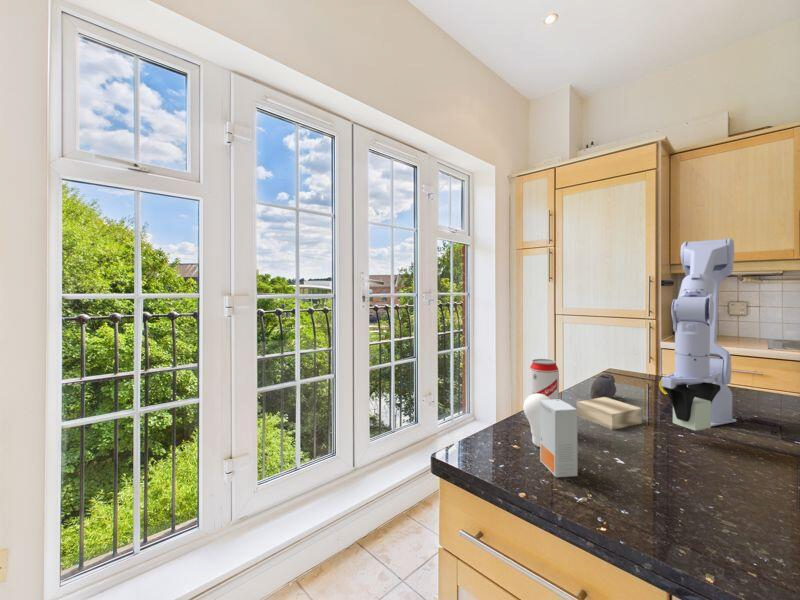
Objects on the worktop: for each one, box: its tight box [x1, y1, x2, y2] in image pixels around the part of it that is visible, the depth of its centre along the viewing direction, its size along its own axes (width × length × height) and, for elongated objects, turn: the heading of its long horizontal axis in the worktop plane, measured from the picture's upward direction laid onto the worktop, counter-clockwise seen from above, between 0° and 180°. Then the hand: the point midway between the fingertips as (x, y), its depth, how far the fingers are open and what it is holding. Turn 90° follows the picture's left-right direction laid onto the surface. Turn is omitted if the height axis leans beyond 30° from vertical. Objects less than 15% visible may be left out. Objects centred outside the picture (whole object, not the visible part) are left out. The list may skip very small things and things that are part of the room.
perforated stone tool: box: [589, 373, 617, 399], centre depth 105 cm, size 15×5×7 cm, turn 136°
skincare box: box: [539, 398, 579, 478], centre depth 67 cm, size 6×4×12 cm
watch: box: [658, 374, 669, 395], centre depth 110 cm, size 6×3×6 cm, turn 41°
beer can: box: [529, 358, 560, 400], centre depth 85 cm, size 6×6×16 cm
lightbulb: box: [522, 394, 551, 448], centre depth 76 cm, size 6×6×11 cm
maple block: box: [576, 397, 643, 431], centre depth 91 cm, size 10×10×4 cm
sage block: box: [672, 397, 712, 432], centre depth 77 cm, size 4×4×6 cm
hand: (691, 418), depth 77 cm, fingers closed on sage block, 4 cm apart
